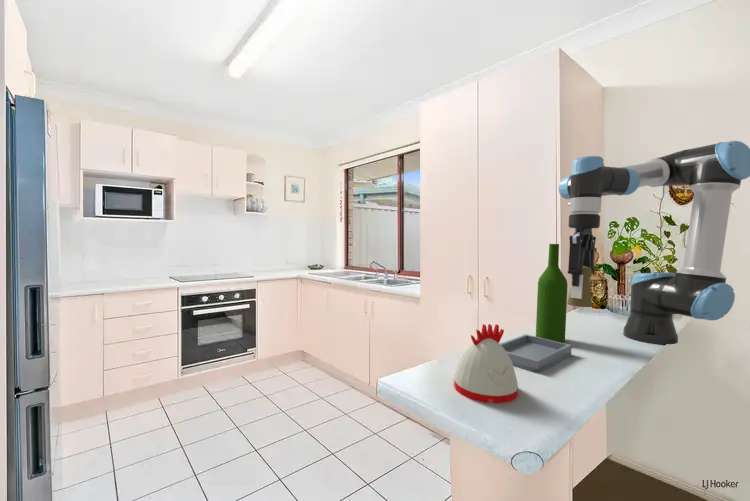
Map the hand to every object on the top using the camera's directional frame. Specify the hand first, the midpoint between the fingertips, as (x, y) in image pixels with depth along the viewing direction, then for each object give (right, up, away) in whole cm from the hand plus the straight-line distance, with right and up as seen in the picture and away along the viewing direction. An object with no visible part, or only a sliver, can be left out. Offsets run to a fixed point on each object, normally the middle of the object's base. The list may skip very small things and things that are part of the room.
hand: (579, 296), depth 100 cm
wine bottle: (+2, -17, +21) cm, 27 cm away
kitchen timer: (-32, -19, -18) cm, 42 cm away
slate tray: (-12, -18, +4) cm, 22 cm away
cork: (0, -2, 0) cm, 2 cm away
